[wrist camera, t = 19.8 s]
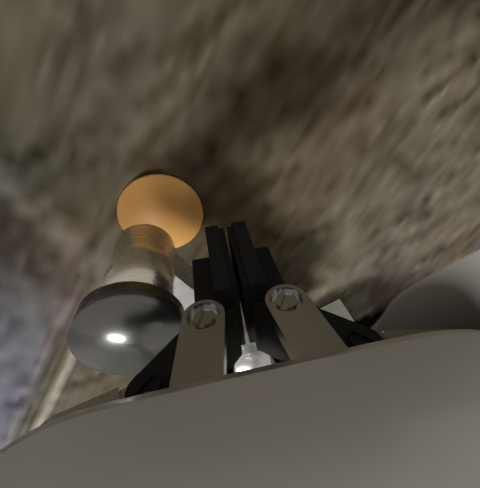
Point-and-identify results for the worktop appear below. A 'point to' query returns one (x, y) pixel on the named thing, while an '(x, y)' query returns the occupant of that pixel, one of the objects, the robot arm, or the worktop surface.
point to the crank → (139, 306)
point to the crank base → (162, 206)
